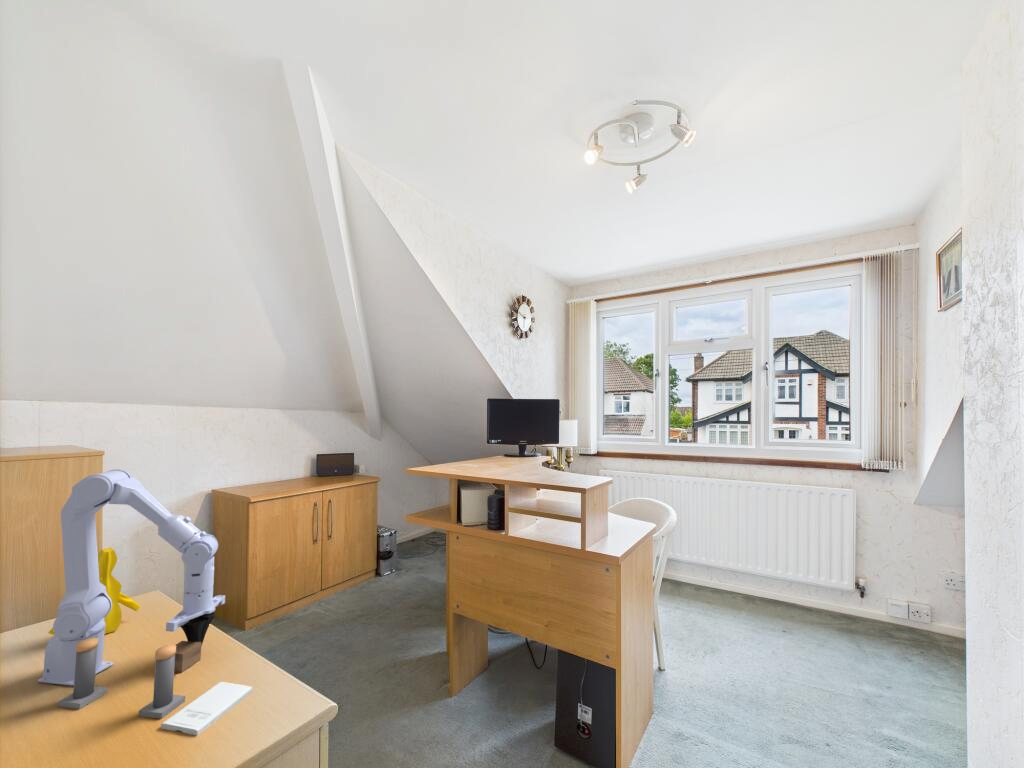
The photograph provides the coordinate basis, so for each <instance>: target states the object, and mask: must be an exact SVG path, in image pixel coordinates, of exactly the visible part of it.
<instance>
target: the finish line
mask: <svg viewBox="0 0 1024 768" xmlns="http://www.w3.org/2000/svg"><path fill="white" fill-rule="evenodd" d="M97 646H98V638H88V639H85V640H82V641H80V642H78V643H77V644H76V665H75V678H74V686H73V691H72V693H71V694H69V695H67V696H65V697H64V698H62V699H60V700H58V701H57V702H58V704H57V705H58V708H59V707H60V708H68V709H75V710H77V709H78V710H81V709H82V708H84V707H86V706H87V704H88V705H90V703H92V702H95V700H97V699H99V698H101V697H102V696H104V695H105V694H107V693H108V690H109V689H108V688H109V687H108V686H107V687H106V686H97V685H96V686H95V683H96V682H95V681H96V674H95V671H96V657H97ZM154 653H155V654H154V655H155V656H154V659H155V663H154V666H155V667H154V681H153V683H154V684H153V696H152V701H151V702H149V703H147V704H145V706H143V707H142V708H140V709H139V710H138V716H139V717H143V718H144V717H145V718H152V719H164V717H166V716H167V715H168V714H170V713H172V711H174V710H175V709H176V708H177V707H179V706H181V705H182V704H183V703H184V702H185V701H186V695H181V694H174V682H175V679H174V678H175V672H174V666H175V654H176V644H167V645H163V646H161V647H159V648H157V649H156V650H155V652H154Z"/></svg>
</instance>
